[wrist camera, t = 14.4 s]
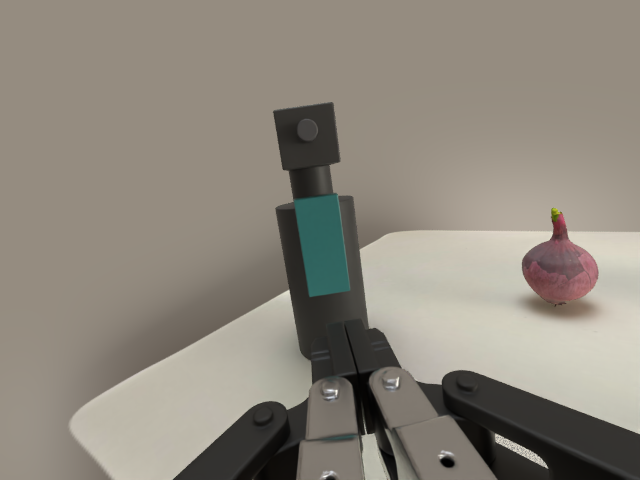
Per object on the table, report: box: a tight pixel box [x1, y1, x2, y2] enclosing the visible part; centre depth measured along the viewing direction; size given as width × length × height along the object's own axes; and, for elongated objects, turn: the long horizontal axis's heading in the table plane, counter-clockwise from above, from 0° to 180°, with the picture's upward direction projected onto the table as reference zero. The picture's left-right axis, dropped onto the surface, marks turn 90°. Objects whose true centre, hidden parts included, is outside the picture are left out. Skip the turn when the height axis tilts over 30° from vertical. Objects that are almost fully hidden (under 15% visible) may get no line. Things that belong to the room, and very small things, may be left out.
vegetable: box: [522, 208, 598, 306], centre depth 31 cm, size 6×6×10 cm
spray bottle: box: [273, 102, 369, 360], centre depth 26 cm, size 13×7×20 cm, turn 3°
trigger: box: [294, 193, 350, 297], centre depth 22 cm, size 1×3×7 cm, turn 93°
